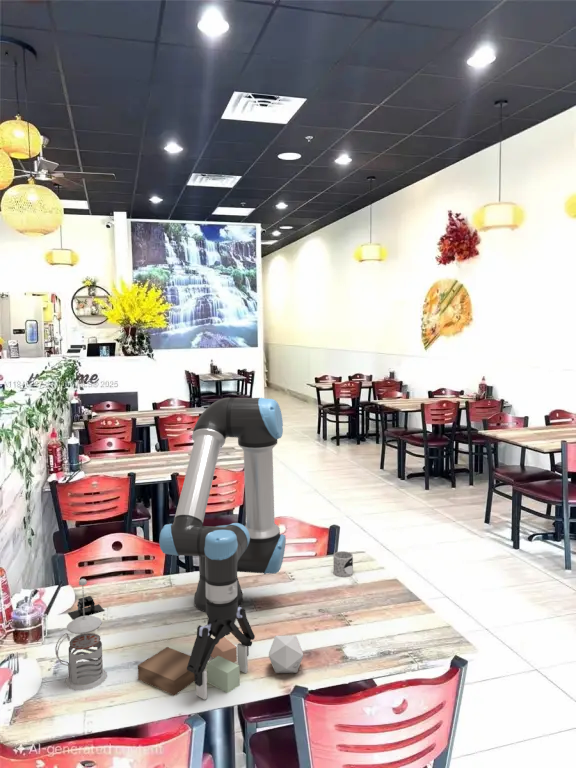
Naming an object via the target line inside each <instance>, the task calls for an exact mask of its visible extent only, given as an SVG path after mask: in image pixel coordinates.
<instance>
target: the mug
mask: <svg viewBox="0 0 576 768" xmlns="http://www.w3.org/2000/svg"><path fill="white" fill-rule="evenodd" d="M353 561H354V555H353V553H352V552H348V551H336V552H333V575H334V576H336V577H338V578H349V577H353V575H354V569H353V568H354V566H353V565H354V563H353Z"/></svg>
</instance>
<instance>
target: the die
mask: <svg viewBox="0 0 576 768" xmlns="http://www.w3.org/2000/svg"><path fill="white" fill-rule="evenodd" d="M268 658H269V660H270V664H271V665H272V667H273V670H274V673H275V674H292V673H293V674H295V673H298V671H299V668H300V665H301V663H302V660H303V658H304V653H303V649H302V647H301V645H300V642H299V639H298V637H297V635H274V637H273V641H272V644H271V646H270V649H269V652H268Z"/></svg>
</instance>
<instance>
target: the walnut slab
mask: <svg viewBox="0 0 576 768" xmlns="http://www.w3.org/2000/svg"><path fill="white" fill-rule="evenodd" d="M190 656H191V654H186V653H184V652H183V651H179V650H176V649H174V648H171V647H169V646H167V647H164V648H163V649H161V650H160V651H159V652H157V653H155V654H154V655H152V656H150V657H149V658H148V659H146V660H144V661H142V662H141V663H139V664H138V665H137V680H139V681H140V682H143V683H145V684H147V685H150V686H152V687H153V688H157V689H159V690H161V691H163V692H165V693H166V694H167V693H168V694H170V695H172V696H176V695H177V694H179V693H180V692H182V691H183V690H184V689H185V688H187V687H189V686H190V685H191V684H192V683H195V678H194V673H192V672H190V671H188V670H187V666H188V663H189V659H190ZM200 666H201V665H200Z"/></svg>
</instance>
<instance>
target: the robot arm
mask: <svg viewBox="0 0 576 768" xmlns="http://www.w3.org/2000/svg"><path fill="white" fill-rule="evenodd" d="M283 423H284V422H283V415H282V409H281V408H280V405H279V403H278V402H277V400H275V399H273V398H265V397H224V398H220V399H218V400H216V401H214V402H213V403H212V404H210V405H209V406H208V407H207V408H206V409H205V410H204V411H203V412H202V413H201V414H200V416H199V417H198V418H197V420H196V423H195V424H194V427H193V431H192V434H191V439H192V441H193V445H192V450H191V452H190V456H189V461H188V463H187V469H186V472H185V476H184V480H183V485H182V489H181V492H180V495H179V499H178V504H177V507H176V510H175V511H176V512H175V516H174V520H173V522H172V523H169V524H168V523H167V524H164V526H163V527H162V528H161V530H160V533H159V541H158V543H159V548H160V550H161V552H162V553H163V554H165V555H170V556H171V555H172V556H178V557H181V556H182V557H183V556H187V557H188V556H189V557H198V568H199V569H198V570H199V580H198V583H197V586H196V591H195V593H194V597H193V601H194V602H193V603H194V604H193V605H194V607H195V608H196V609H198V610H200V611H203V612H205V614H206V616H207V620H208V621H207V624H206V625H197V628H196V629H197V630H196V636H195V640H194V643H193V647H192V649H191V653H190V659H189V663H188V666H187V670H188V671H190V672H192V673H194V678H195V681H194V685H196V687H195V688H196V696H197V697H199V698H201V699H203V700H207V699H208V682H207V669H206V668H207V662H209V661H210V658H211V657H212V656H211V654H212V652H213V649H214V647H215V645H216V644H218V643H219V640H220V639H222V638H223V637H225V636H226V637H227V636H229V635H233V637H234V638H236V639H237V641H239V643H237V644H236V647H237V665H239V670H240V672H241V673H245V674H247V673H249V671H248V670H249V669H248V667H249V665H248V663H249V662H248V657H249V655H250V653H249V647H252V645H253V640H255V637H256V636H255V635H256V634H254V631H253V628H252V627H251V625H250V623H249V622H250V621H249V620H248V618H247V614H246V609H245V608H243V607H241V605H242V604H243V601H244V593H243V590H242V587H241V584H240V581H239V578H238V573H249V574H250V573H251V574H263V575H266V574H268V575H269V574H277V573H279V571H280V570H281V568H282V566H283V561H284V555H285V550H286V542H287V541H286V535H284V534H283V533H281V530H280V526H279V525H277V524H276V523H275V496H274V489H275V488H274V487H275V486H274V466H273V465H274V461H273V460H274V458H273V457H274V455H273V449H274V448H275V447H276V446H277V445H278V440H279V439H281V438H282V437H283V432H284V431H283V429H284V428H283V426H284V424H283ZM227 438H235V439H236V438H237V444H238V445H237V446H238V447H240V448H241V449H242V450H243V470H244V474H243V475H244V492H245V493H244V496H245V497H244V498H245V521H246V522H245V523H246V524H245V525H243V524H242V523H239V522H233V523H230V524H223V525H216V526H206V525H204V519H205V515H206V511H207V505H208V502H209V498H210V494H211V493H210V492H211V488H212V485H213V484H212V483H213V480H214V475H215V471H216V466H217V462H218V459H219V454H220V449H221V448H222V447H223V446H224V445H225V443H226V439H227ZM236 620H237V623H238V625H239V627H240V629H241V630H240V629H239V627H238V626H237V625H236V624H235V623H236ZM213 637H214V638H213ZM200 665H201V666H200Z"/></svg>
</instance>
